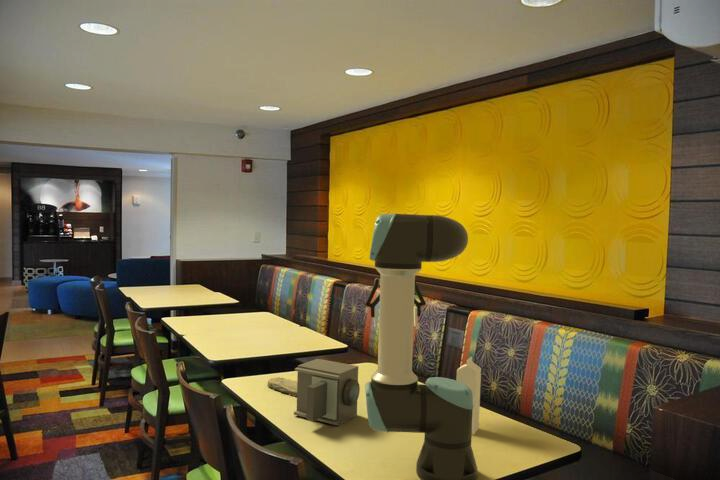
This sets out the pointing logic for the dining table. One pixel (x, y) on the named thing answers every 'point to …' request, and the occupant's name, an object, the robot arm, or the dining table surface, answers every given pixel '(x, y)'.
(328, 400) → the door
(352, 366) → the camera box
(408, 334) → the robot arm
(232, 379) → the dining table surface
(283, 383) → the long grey stone
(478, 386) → the milk
